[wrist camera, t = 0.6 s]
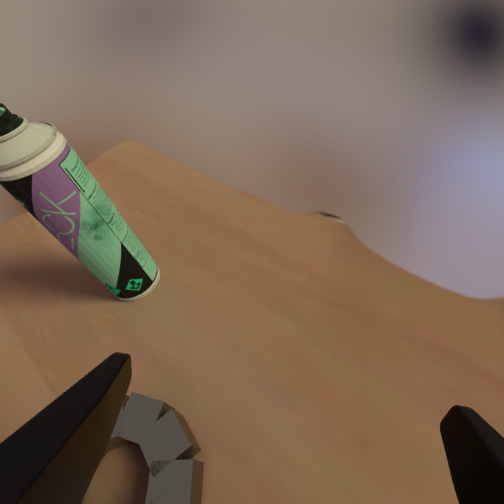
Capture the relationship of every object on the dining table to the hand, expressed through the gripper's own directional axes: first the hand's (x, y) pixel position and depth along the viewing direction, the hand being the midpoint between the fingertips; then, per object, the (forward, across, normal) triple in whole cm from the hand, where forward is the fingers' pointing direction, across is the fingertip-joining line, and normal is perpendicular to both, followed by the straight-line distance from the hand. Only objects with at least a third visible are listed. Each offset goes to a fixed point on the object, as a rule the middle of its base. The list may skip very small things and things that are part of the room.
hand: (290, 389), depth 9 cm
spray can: (+23, +13, +15) cm, 30 cm away
